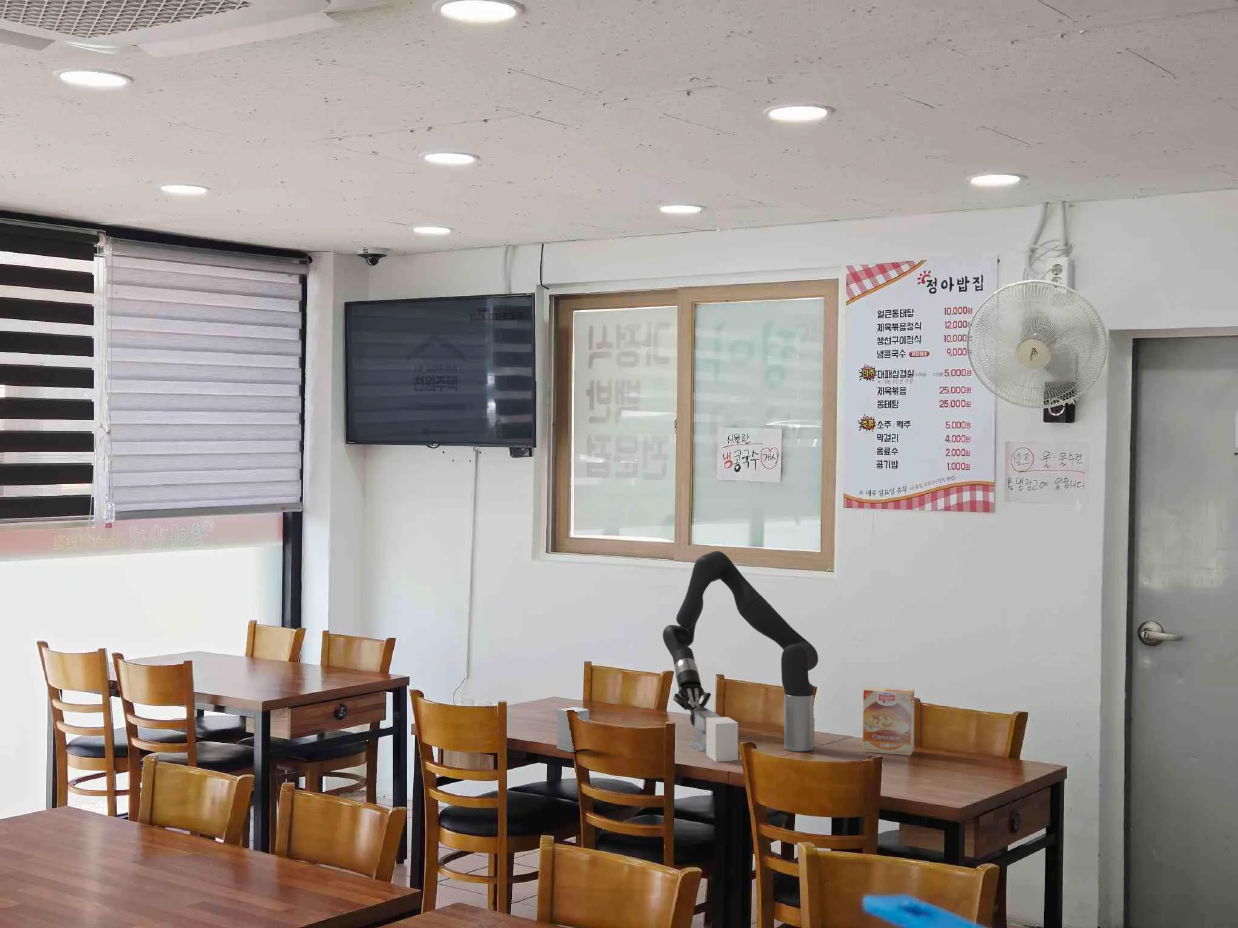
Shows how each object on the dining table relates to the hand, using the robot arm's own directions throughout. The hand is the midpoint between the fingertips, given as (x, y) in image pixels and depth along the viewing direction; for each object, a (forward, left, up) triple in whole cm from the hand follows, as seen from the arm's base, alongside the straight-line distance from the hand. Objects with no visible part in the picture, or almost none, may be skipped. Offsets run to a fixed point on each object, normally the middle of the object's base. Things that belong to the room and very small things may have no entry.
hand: (697, 718), depth 445 cm
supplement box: (+35, -23, -7) cm, 43 cm away
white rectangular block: (+17, +20, -7) cm, 27 cm away
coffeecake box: (-24, +56, -7) cm, 61 cm away
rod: (+9, +11, -3) cm, 15 cm away
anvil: (+6, +8, -7) cm, 13 cm away
